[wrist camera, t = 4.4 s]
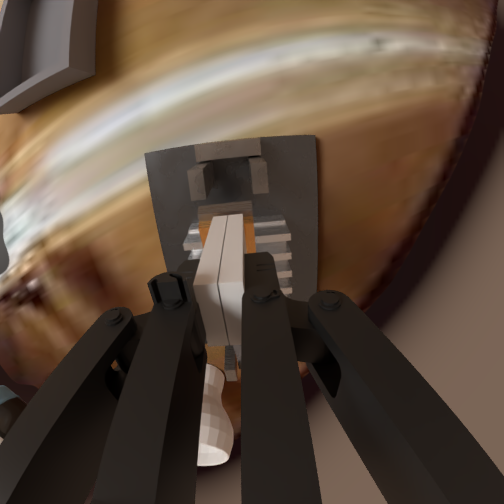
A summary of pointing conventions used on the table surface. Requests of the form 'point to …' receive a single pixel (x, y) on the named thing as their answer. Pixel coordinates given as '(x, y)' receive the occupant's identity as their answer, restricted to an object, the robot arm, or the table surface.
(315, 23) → the table surface
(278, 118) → the table surface
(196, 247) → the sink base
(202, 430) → the cup
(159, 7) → the table surface
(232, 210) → the strap
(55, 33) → the tray
